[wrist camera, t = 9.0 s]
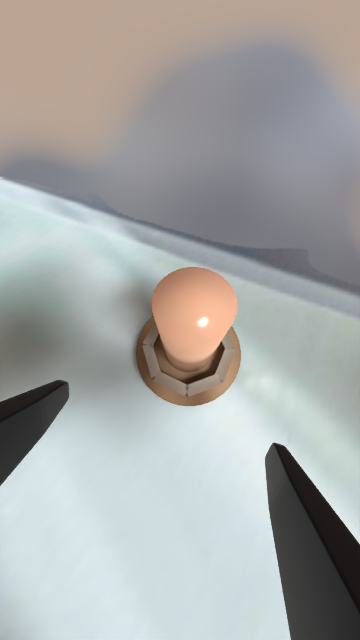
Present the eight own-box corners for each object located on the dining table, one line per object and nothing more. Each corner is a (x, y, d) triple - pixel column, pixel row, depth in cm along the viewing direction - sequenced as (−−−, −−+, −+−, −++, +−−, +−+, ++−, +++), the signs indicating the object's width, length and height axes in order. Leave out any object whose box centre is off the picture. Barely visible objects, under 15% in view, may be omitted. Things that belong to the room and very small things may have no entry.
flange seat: (154, 422, 19) (151, 425, 17) (127, 323, 23) (123, 316, 21) (256, 383, 20) (263, 381, 18) (214, 295, 24) (216, 287, 22)
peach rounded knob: (205, 378, 19) (230, 353, 10) (159, 365, 20) (139, 330, 10) (215, 333, 21) (242, 276, 12) (172, 323, 22) (165, 260, 12)
